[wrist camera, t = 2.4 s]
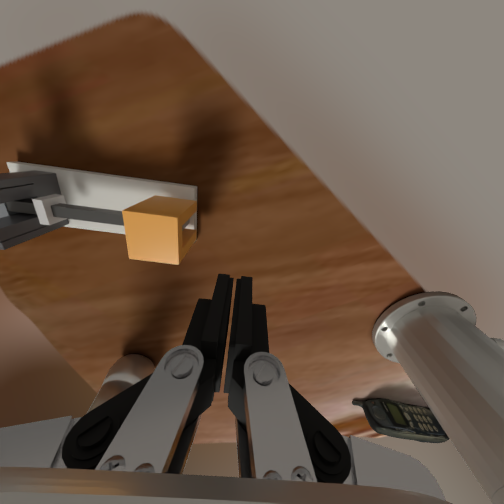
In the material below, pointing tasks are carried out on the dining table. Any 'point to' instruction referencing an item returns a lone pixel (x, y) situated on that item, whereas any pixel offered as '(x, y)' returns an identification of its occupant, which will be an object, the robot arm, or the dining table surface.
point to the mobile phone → (403, 420)
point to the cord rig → (73, 200)
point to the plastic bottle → (123, 377)
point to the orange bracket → (159, 229)
